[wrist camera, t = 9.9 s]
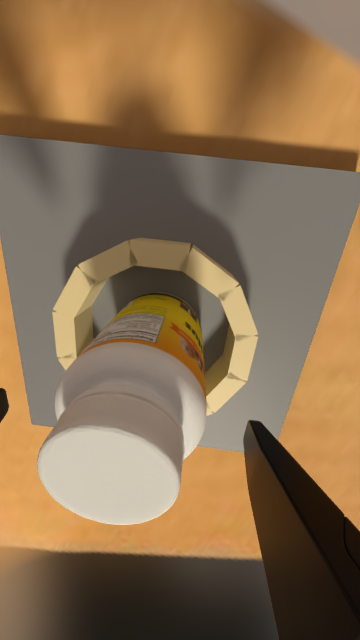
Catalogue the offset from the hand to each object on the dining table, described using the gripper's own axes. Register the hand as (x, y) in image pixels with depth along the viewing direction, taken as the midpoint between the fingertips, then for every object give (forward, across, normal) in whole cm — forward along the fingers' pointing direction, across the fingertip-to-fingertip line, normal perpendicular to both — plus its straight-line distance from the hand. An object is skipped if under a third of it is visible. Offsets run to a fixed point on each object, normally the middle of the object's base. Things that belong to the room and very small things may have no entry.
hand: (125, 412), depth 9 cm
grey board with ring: (+9, 0, 0) cm, 9 cm away
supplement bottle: (+8, 0, 0) cm, 8 cm away
